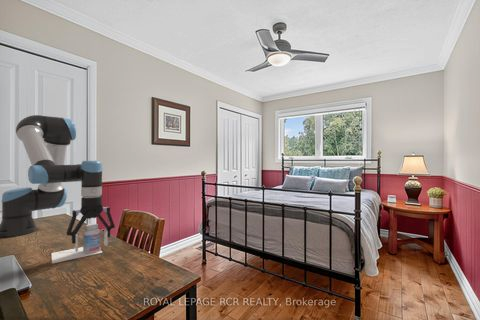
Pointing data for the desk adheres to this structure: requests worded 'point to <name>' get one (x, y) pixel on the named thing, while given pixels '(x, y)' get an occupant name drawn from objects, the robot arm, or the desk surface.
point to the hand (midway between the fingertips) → (91, 247)
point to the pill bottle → (91, 239)
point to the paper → (71, 254)
